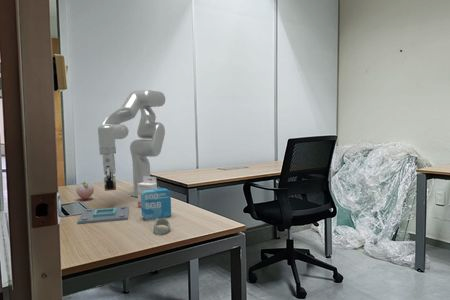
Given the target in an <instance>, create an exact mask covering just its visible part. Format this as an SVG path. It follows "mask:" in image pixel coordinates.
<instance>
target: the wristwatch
mask: <svg viewBox="0 0 450 300" xmlns="http://www.w3.org/2000/svg"><path fill="white" fill-rule="evenodd" d="M159 226H165V227H164V228H162V227H159ZM170 229H171V223H170V221H169V220H167V219H166V218H157V219H155V221H154V225H153V229H152V231H153V233H154V234H156V235H166V234H167V233H168V232H170ZM165 233H166V234H165Z"/></svg>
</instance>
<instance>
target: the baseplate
mask: <svg viewBox="0 0 450 300" xmlns="http://www.w3.org/2000/svg"><path fill="white" fill-rule="evenodd" d="M82 211H83V212H82V213H81V215H80V216H79V218H78V220H77V223H76V224H77V225H83V224H92V223H104V222H116V221H117V222H119V221H127V220H129V211H130V206H129V205H128V206H126V205H121V206H119V207H107V208H105V207H104V208H103V207H102V208H86V209H84V210H82Z"/></svg>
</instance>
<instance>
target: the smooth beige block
mask: <svg viewBox="0 0 450 300" xmlns="http://www.w3.org/2000/svg"><path fill="white" fill-rule="evenodd" d="M112 180H113V189H107V188H106V176H104V177H103V184H104V192H107V191H116V190H117V180H116V175H113V176H112Z"/></svg>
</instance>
